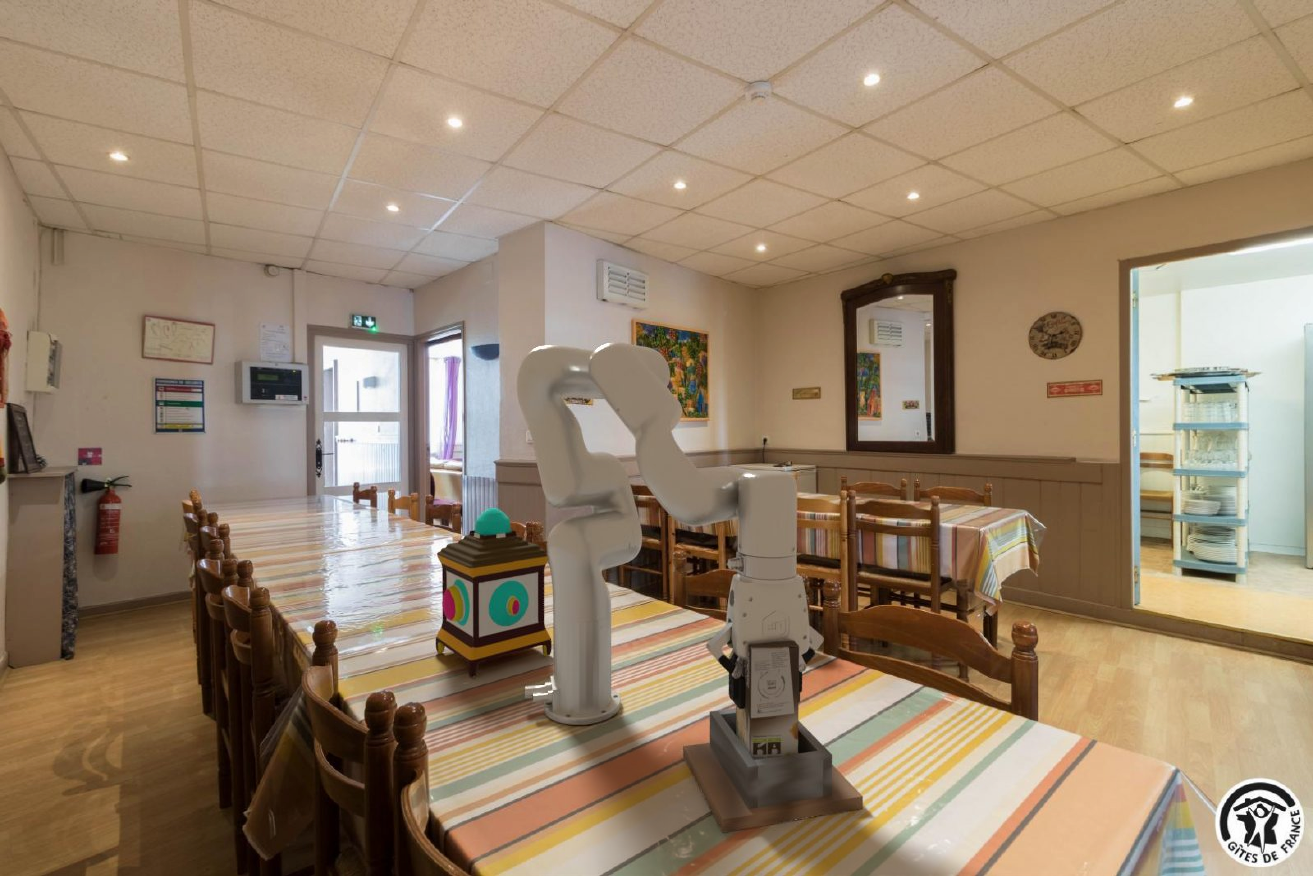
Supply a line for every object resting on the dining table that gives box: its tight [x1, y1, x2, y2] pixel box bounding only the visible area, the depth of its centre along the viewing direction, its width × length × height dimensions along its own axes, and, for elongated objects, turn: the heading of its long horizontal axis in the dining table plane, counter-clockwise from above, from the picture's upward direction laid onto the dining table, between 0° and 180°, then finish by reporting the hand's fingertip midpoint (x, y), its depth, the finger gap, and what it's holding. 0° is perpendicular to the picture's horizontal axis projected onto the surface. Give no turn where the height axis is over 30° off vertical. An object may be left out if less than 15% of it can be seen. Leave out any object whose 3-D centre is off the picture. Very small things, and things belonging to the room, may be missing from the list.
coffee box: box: [735, 641, 800, 760], centre depth 77 cm, size 9×6×16 cm
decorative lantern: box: [435, 507, 553, 679], centre depth 120 cm, size 20×20×30 cm
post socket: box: [682, 707, 864, 833], centre depth 77 cm, size 18×16×6 cm
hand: (765, 700), depth 77 cm, fingers closed on coffee box, 7 cm apart
